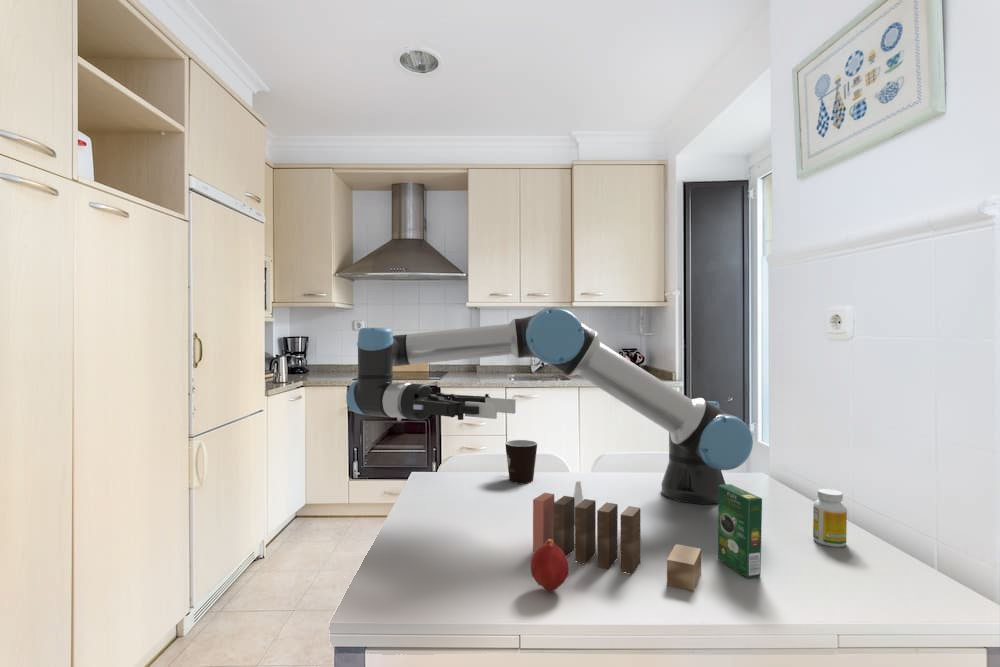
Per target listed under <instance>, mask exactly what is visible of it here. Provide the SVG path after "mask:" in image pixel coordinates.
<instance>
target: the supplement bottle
mask: <svg viewBox="0 0 1000 667" xmlns="http://www.w3.org/2000/svg"><path fill="white" fill-rule="evenodd" d="M843 494H844V493H843V492H842V491H839V490H836V489H832V488H819V489H818V490H817V499H816V500H815V501H814V502H813V509H812V510H813V511H812V512H813V516H812V518H813V519H812V538H813V540H814V541H815V542H816V543H817V544H820V545H822V546H827V547H831V548H843V547H845V546H846V545H847V523H848V522H847V519H848V518H847V517H848V516H847V513H848V512H847V511H848V510H847V506H846V505H845V504H844V503H843V502H842V501H843V500H844V497H843Z"/></svg>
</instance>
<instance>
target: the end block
mask: <svg viewBox="0 0 1000 667" xmlns="http://www.w3.org/2000/svg"><path fill="white" fill-rule="evenodd" d="M701 574H702V548H699V547H693V546H688V545H682V544H675V545H674V546H673V548H672V550H671V552H670V554H669V556H667V559H666V586H670V587H675V588H678V589H683V590H688V591H692V592H695V590H696V587H697V585H698V582H699V580H698V579H700V577H701Z"/></svg>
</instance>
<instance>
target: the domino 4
mask: <svg viewBox="0 0 1000 667" xmlns="http://www.w3.org/2000/svg"><path fill="white" fill-rule="evenodd" d="M618 507H619V506H618V503H615V502H614V503H613V502H607V501H606V502H605V503H603V505H602V506H600V508H598V509H597V510H596V511H597V512H596V515H597V516H596V517H597V518H596V528H597V529H596V545H597V546H596V567H598V568H600V567H601V569H605V568H606V570H610V569H611V567H612V566H613V565H614V564H615V562H616V561H617V560H618V554H619V552H618V548H619V547H618V546H619V545H618V540H619V539H618V534H619V533H618V531H619V530H618V526H619V525H618V522H619V521H618V513H619V512H618ZM616 559H617V560H616ZM615 560H616V561H615ZM614 561H615V562H614ZM612 564H613V565H612ZM611 565H612V566H611Z"/></svg>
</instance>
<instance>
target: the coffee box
mask: <svg viewBox="0 0 1000 667" xmlns="http://www.w3.org/2000/svg"><path fill="white" fill-rule="evenodd" d="M718 490H719V491H718V503H717V504H718V506H717V508H718V509H717V512H718V514H717V516H718V518H717V527H718V528H717V559H718V560H719V561H721V562H722V563H723V564H725V565H727V566H728V567H730V568H732V569H733V570H734V571H736V572H737V573H738V574H739V575H742V576H743V577H745V578H747V579H756V578H760V577H761V565H762V559H761V558H762V526H763V525H762V522H763V521H762V517H763V498H762V497H760V496H757V495H755V494H753V493H750V492H748V491H746V490H744V489H741V488H739V486H738V487H737V486H736V485H733V484H731V483H730V484H726V483H725V485H719V489H718Z"/></svg>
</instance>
